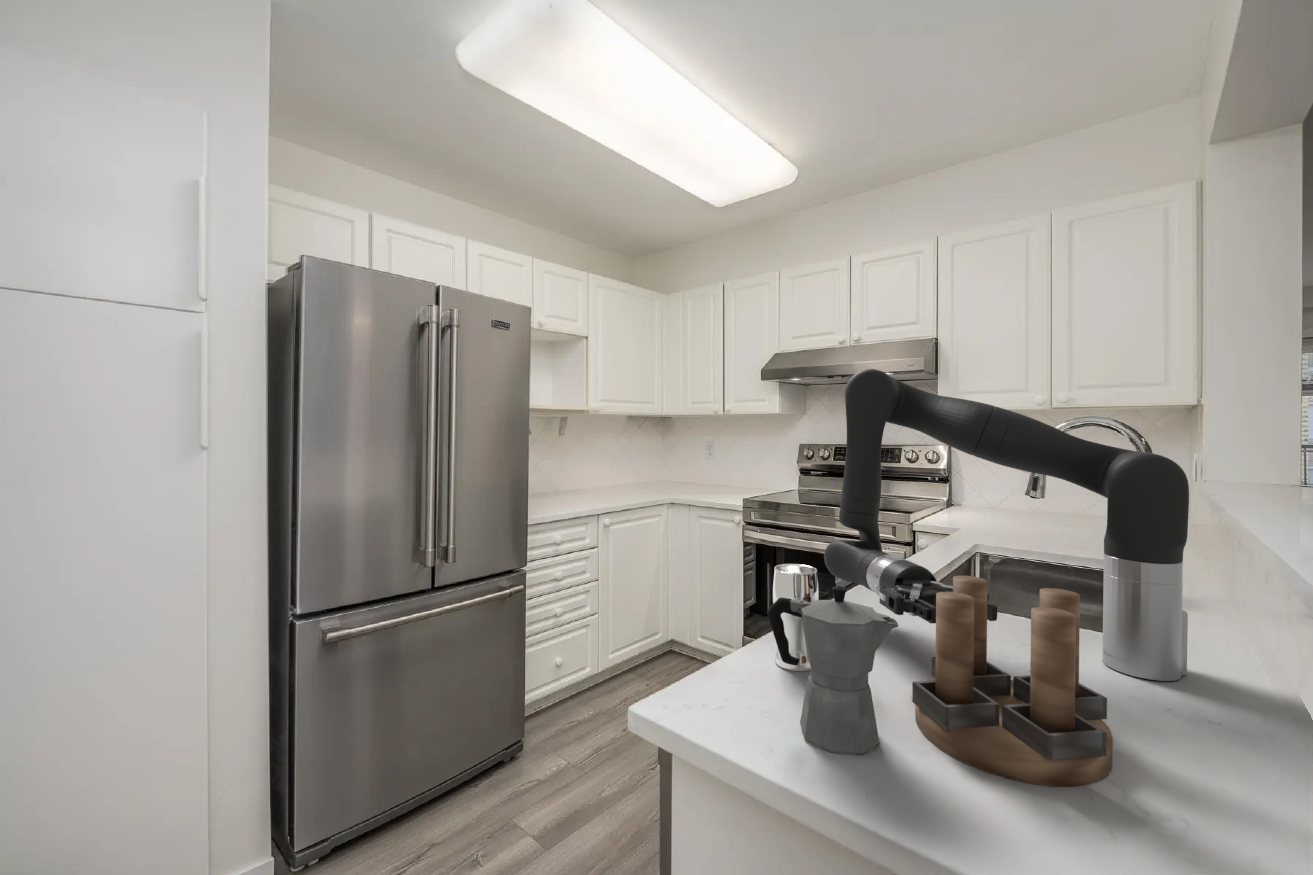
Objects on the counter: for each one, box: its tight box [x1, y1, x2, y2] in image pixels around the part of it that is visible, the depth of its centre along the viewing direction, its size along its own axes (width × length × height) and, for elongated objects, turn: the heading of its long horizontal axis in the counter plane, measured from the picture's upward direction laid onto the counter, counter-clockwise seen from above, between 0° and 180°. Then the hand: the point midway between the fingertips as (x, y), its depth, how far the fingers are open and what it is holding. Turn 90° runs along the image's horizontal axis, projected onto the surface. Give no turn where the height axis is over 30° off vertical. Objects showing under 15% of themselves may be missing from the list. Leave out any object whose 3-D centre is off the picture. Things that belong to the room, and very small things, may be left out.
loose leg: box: [952, 575, 988, 676], centre depth 75 cm, size 4×4×14 cm
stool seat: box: [911, 587, 1114, 788], centre depth 69 cm, size 20×20×17 cm
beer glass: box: [772, 563, 819, 672], centre depth 89 cm, size 7×7×15 cm
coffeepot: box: [767, 585, 899, 756], centre depth 69 cm, size 15×9×18 cm, turn 62°
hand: (965, 614), depth 76 cm, fingers open, 8 cm apart
